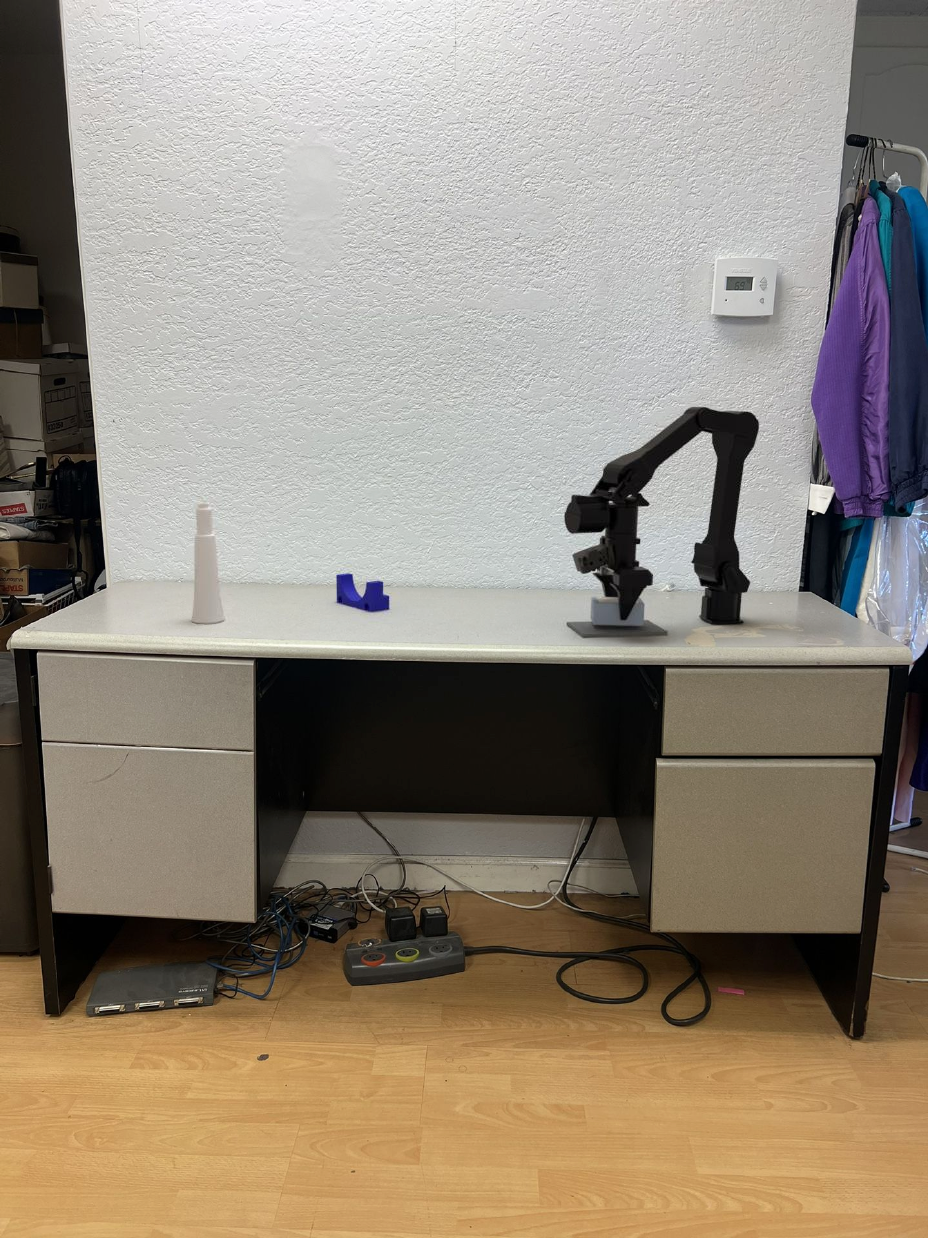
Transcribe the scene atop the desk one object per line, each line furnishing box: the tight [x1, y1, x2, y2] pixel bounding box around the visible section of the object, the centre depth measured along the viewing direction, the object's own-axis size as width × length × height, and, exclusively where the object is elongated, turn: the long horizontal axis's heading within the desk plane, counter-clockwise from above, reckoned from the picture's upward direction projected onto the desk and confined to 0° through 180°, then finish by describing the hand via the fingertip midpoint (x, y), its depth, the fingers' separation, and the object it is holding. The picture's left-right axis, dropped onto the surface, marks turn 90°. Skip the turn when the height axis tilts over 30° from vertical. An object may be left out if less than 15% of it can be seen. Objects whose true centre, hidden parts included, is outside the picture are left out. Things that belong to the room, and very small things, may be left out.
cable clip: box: [335, 572, 390, 613], centre depth 201 cm, size 12×4×6 cm, turn 41°
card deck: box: [590, 596, 645, 626], centre depth 183 cm, size 6×9×4 cm, turn 88°
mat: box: [566, 619, 669, 638], centre depth 184 cm, size 16×10×1 cm, turn 101°
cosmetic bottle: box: [191, 501, 226, 625], centre depth 184 cm, size 6×6×22 cm
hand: (617, 616), depth 183 cm, fingers closed on card deck, 6 cm apart
